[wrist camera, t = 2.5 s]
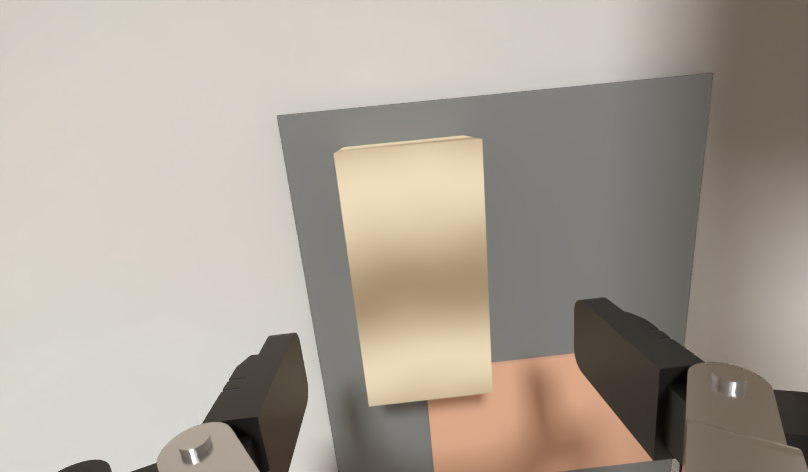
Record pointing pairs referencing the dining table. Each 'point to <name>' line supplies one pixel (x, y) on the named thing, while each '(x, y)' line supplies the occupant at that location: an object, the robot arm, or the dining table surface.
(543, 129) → the mat
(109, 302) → the dining table surface
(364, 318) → the block
